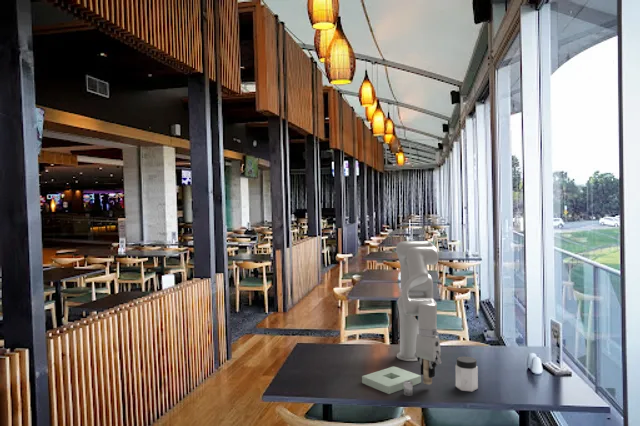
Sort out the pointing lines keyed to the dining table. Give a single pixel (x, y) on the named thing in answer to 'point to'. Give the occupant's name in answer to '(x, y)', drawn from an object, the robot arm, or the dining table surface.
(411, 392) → the steel pin
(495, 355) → the dining table surface
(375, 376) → the hole board
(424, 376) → the birch pin
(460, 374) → the jar
